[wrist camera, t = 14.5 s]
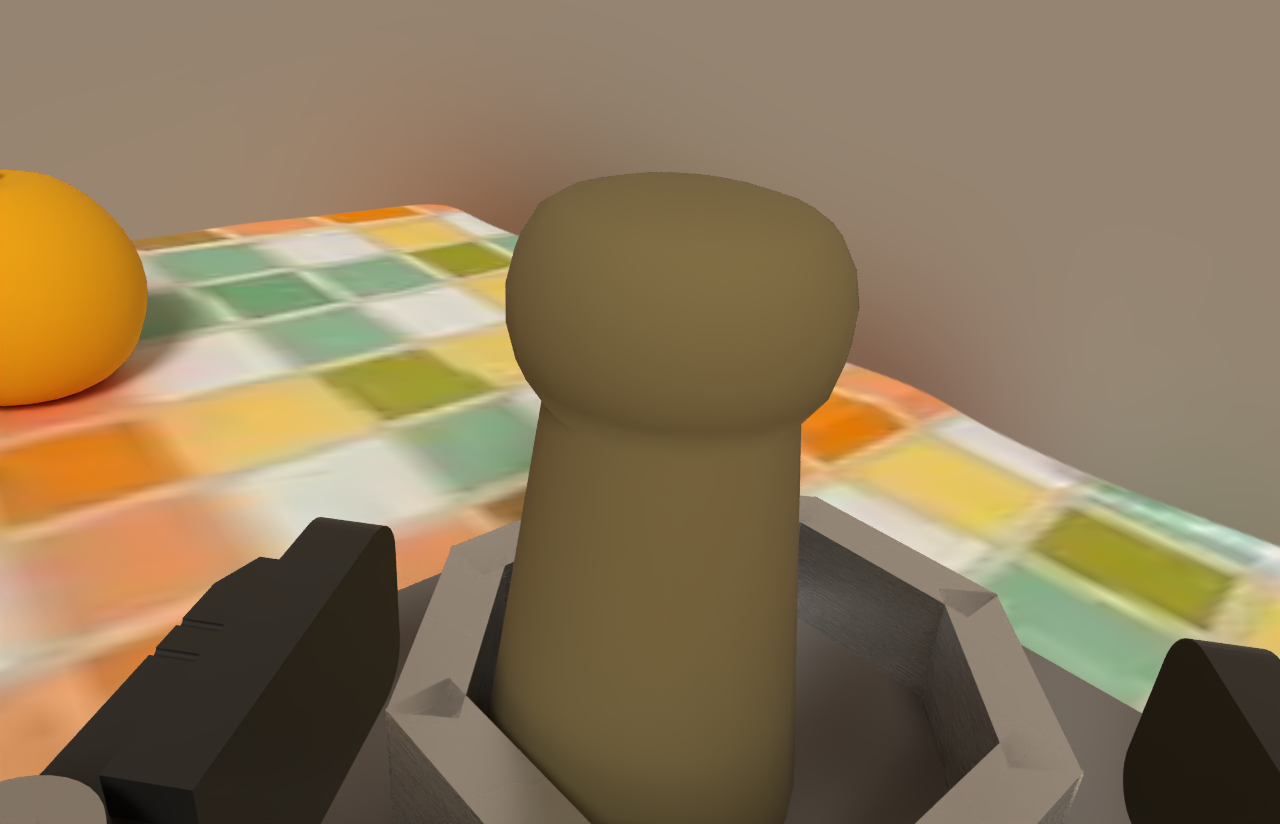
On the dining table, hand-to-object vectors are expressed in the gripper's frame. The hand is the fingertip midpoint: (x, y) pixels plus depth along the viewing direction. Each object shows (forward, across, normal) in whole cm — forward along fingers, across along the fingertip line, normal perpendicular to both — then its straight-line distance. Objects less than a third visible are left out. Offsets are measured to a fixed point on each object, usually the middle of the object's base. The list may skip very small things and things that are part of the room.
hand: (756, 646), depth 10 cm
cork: (+5, +2, +8) cm, 10 cm away
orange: (+19, +24, +9) cm, 32 cm away
